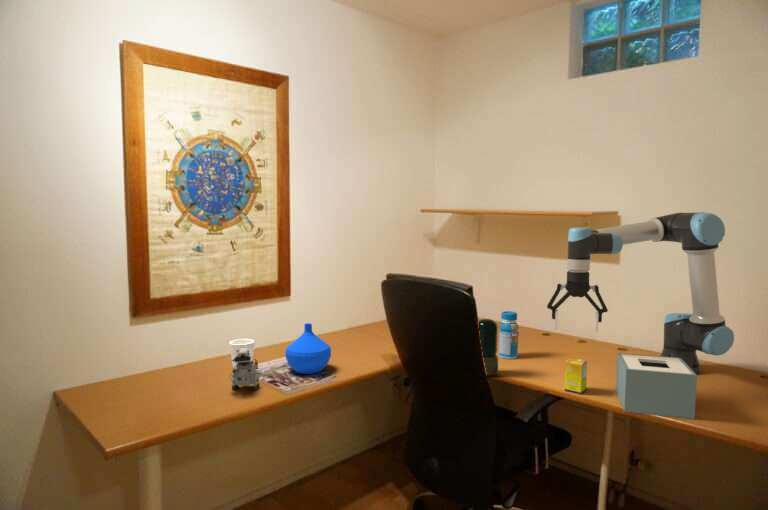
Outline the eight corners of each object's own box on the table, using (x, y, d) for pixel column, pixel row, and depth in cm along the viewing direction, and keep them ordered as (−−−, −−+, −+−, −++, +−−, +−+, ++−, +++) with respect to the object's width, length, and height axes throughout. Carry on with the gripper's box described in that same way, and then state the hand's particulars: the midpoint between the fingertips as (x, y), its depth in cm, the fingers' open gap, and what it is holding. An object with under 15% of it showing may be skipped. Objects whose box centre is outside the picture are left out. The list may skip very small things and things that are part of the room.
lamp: (502, 373, 204) (503, 319, 202) (490, 379, 197) (491, 322, 195) (481, 368, 210) (482, 315, 209) (469, 373, 203) (469, 319, 201)
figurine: (226, 395, 179) (224, 353, 177) (237, 384, 190) (236, 345, 189) (251, 396, 178) (250, 354, 177) (261, 385, 189) (260, 345, 188)
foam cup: (229, 378, 197) (229, 345, 196) (230, 371, 206) (229, 339, 205) (255, 376, 199) (254, 343, 198) (254, 369, 208) (254, 338, 207)
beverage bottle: (498, 358, 224) (499, 313, 223) (498, 353, 232) (499, 310, 231) (518, 360, 222) (519, 314, 221) (517, 354, 230) (519, 311, 229)
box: (678, 397, 178) (680, 357, 177) (694, 419, 159) (696, 375, 158) (616, 390, 184) (617, 352, 183) (624, 411, 165) (626, 369, 164)
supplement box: (569, 386, 189) (570, 357, 188) (586, 390, 185) (587, 360, 184) (564, 391, 184) (565, 361, 183) (581, 394, 180) (582, 364, 179)
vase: (337, 365, 213) (337, 320, 212) (320, 379, 196) (320, 330, 194) (297, 362, 218) (297, 318, 217) (277, 375, 201) (276, 327, 199)
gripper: (615, 271, 181) (612, 330, 183) (541, 268, 189) (539, 324, 191) (617, 273, 174) (615, 334, 176) (541, 270, 182) (539, 329, 184)
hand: (575, 329), depth 183 cm, fingers open, 13 cm apart
